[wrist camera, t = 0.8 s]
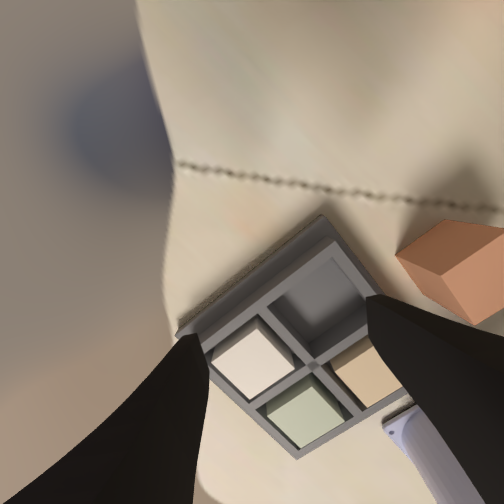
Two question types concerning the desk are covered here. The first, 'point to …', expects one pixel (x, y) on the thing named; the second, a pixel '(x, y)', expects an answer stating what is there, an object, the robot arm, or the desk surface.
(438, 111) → the desk surface
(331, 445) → the desk surface
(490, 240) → the terracotta block
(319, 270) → the frame board
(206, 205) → the desk surface
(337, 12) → the desk surface
